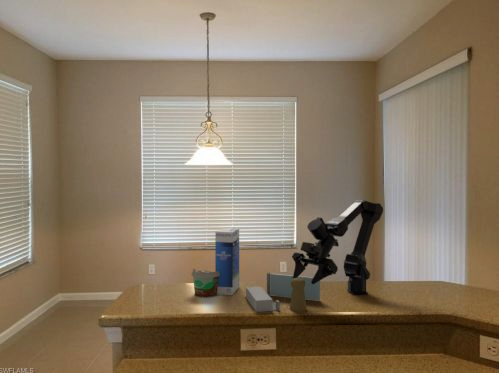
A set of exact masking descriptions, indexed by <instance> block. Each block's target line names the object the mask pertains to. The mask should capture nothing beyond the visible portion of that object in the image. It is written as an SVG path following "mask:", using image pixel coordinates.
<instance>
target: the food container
mask: <svg viewBox="0 0 499 373" xmlns="http://www.w3.org/2000/svg"><path fill="white" fill-rule="evenodd" d="M218 276H220V273H219V271H216V272H215V271H210V270H196V269H195V268H193V269H192V271H191V277H192V278H193V289H194V296H196V297H198V298H212V297H215V296H218V294H217V287H218Z"/></svg>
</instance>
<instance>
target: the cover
mask: <svg viewBox="0 0 499 373" xmlns="http://www.w3.org/2000/svg"><path fill="white" fill-rule="evenodd" d="M313 277H314V276H312V277H311V276H305V275H302V276H300V275H299V276H298V277H297V278H302V279H304V280H305V287H304V293H305V300H309V301H310V300H311V301H318V302H320V301H321V280H320V281H318V282H317V283H315V284H312V283H311V281H312V279H313ZM292 279H293V275H290V274H281V273H271V272H270V296H275V297H281V298H282V297H285V298H291V295H292V286H291V280H292Z"/></svg>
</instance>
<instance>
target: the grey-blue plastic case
mask: <svg viewBox="0 0 499 373" xmlns="http://www.w3.org/2000/svg"><path fill="white" fill-rule="evenodd" d="M270 274H271V272H266V291H265V289H264V288H263V287H262V286H247V287H245V299H247V301H248V303H249V304H250V306H251V307H252V309H253V310H254V311H255V313H262V312H274V311H275V312H277V311H281V305H280V301H279V300H278V299H276V300H275V303H274V301H273V298H272V297H271V295H270Z"/></svg>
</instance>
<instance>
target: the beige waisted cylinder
mask: <svg viewBox="0 0 499 373" xmlns="http://www.w3.org/2000/svg"><path fill="white" fill-rule="evenodd" d="M291 286H292V295H291V297H290V304H289V310H290V311H292V312H297V313H300V312H306V311H307V303H306V302H307V301H306V299H305V293H304V287H305V280H304V279H302V278H294V279H292V280H291Z"/></svg>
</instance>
